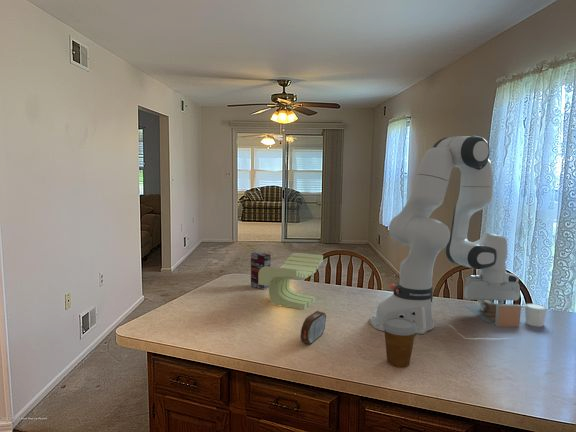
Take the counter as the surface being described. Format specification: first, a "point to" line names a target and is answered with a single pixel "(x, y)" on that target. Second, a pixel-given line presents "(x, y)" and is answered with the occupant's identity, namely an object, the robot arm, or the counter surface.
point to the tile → (507, 315)
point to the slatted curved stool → (280, 278)
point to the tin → (313, 327)
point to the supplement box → (258, 267)
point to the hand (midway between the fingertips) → (490, 310)
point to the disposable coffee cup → (399, 340)
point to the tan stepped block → (490, 309)
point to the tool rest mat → (480, 313)
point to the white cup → (535, 314)
